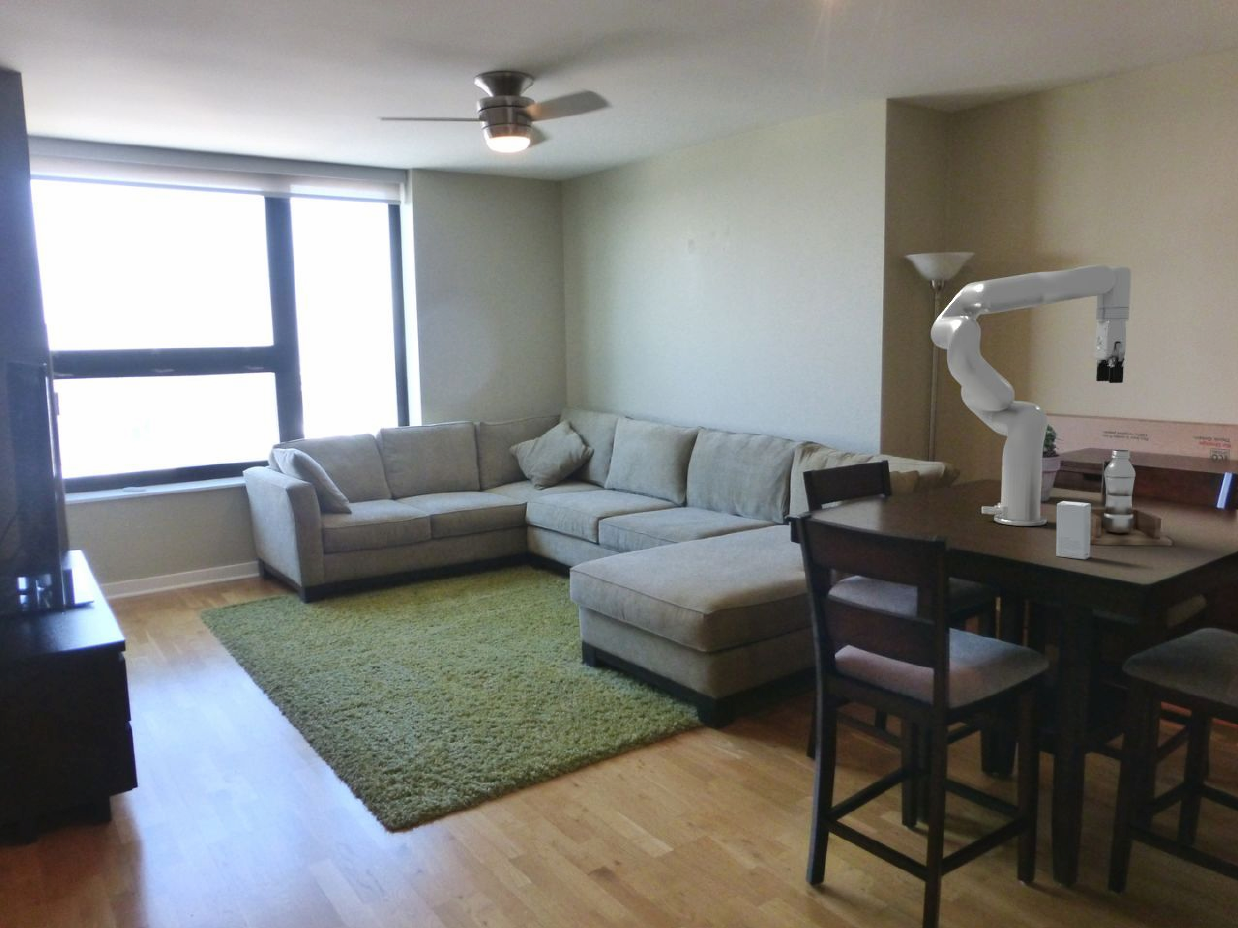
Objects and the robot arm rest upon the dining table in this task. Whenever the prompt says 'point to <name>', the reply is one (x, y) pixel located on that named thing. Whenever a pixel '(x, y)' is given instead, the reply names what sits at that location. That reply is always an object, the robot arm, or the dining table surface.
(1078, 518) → the skincare box
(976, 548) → the dining table surface
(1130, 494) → the silver bottle
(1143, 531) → the brown tray
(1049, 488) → the potted plant
